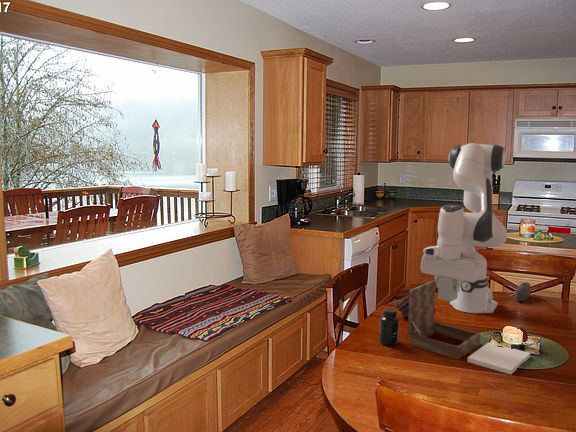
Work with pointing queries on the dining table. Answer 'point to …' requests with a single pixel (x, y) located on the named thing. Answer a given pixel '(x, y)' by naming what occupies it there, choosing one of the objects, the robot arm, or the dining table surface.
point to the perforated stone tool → (522, 291)
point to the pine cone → (404, 306)
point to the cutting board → (498, 358)
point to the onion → (525, 335)
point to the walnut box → (435, 325)
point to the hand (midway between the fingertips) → (448, 289)
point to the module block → (447, 288)
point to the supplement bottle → (389, 327)
